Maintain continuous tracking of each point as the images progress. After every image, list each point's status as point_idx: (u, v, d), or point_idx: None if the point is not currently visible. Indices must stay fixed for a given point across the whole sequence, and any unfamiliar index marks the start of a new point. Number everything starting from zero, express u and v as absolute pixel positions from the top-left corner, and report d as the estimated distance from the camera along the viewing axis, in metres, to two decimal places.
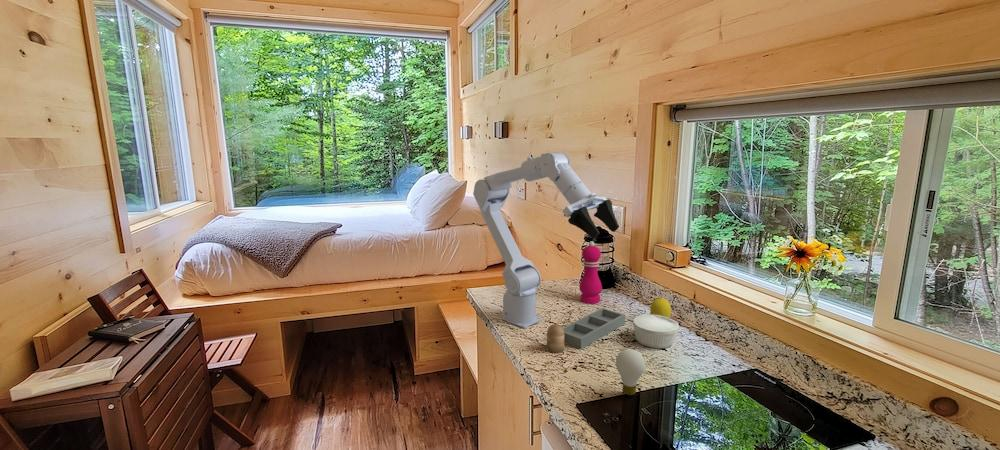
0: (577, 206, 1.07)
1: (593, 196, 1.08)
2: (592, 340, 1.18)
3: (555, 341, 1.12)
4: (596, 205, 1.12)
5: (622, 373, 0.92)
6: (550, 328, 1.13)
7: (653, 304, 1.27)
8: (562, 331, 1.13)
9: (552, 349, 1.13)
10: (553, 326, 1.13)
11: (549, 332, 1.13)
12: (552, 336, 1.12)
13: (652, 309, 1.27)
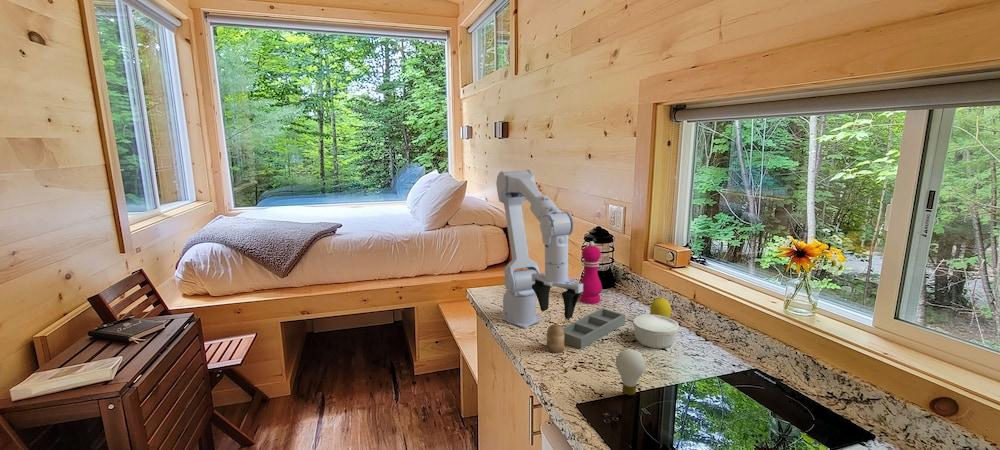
0: None
1: None
2: (592, 340, 1.18)
3: (555, 341, 1.12)
4: (565, 287, 1.09)
5: (622, 373, 0.92)
6: (550, 328, 1.13)
7: (653, 304, 1.27)
8: (562, 331, 1.13)
9: (552, 349, 1.13)
10: (553, 326, 1.13)
11: (549, 332, 1.13)
12: (552, 336, 1.12)
13: (652, 309, 1.27)
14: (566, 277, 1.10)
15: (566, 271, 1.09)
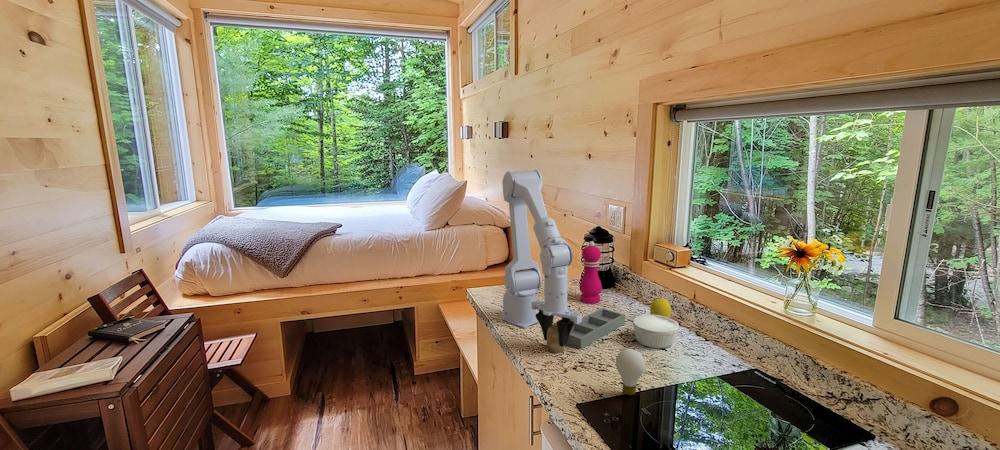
0: None
1: None
2: (592, 340, 1.18)
3: (555, 341, 1.12)
4: (564, 317, 1.11)
5: (622, 373, 0.92)
6: (550, 328, 1.13)
7: (653, 304, 1.27)
8: None
9: (552, 349, 1.13)
10: (553, 326, 1.13)
11: (549, 332, 1.13)
12: (552, 336, 1.12)
13: (652, 309, 1.27)
14: (565, 307, 1.11)
15: (565, 301, 1.11)
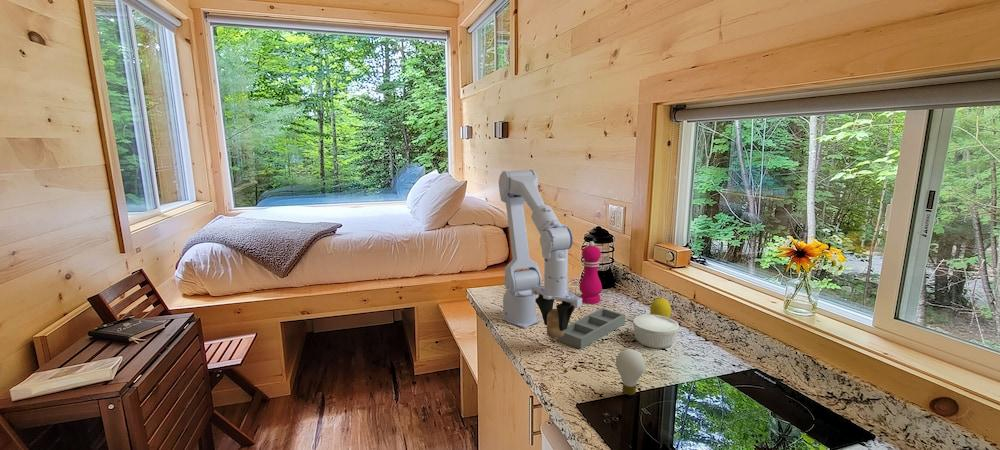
0: None
1: None
2: (592, 340, 1.18)
3: (555, 325, 1.12)
4: (564, 301, 1.10)
5: (622, 373, 0.92)
6: (550, 312, 1.13)
7: (653, 304, 1.27)
8: None
9: (552, 333, 1.12)
10: (553, 310, 1.13)
11: (549, 316, 1.12)
12: (552, 320, 1.12)
13: (652, 309, 1.27)
14: (565, 291, 1.10)
15: (565, 285, 1.10)
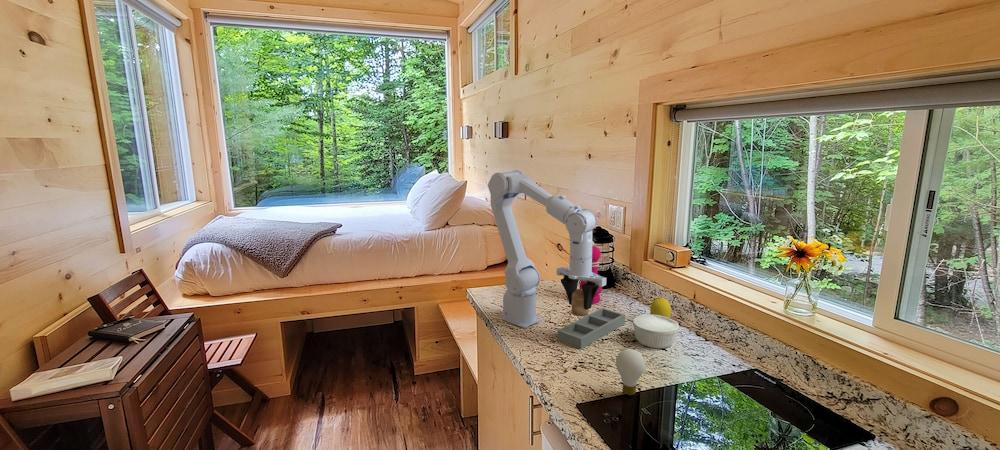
0: None
1: None
2: (592, 340, 1.18)
3: (580, 304, 1.17)
4: (589, 281, 1.16)
5: (622, 373, 0.92)
6: (575, 292, 1.18)
7: (653, 304, 1.27)
8: None
9: (577, 312, 1.18)
10: (578, 290, 1.18)
11: (574, 296, 1.18)
12: (577, 300, 1.17)
13: (652, 309, 1.27)
14: (590, 271, 1.16)
15: (590, 266, 1.16)
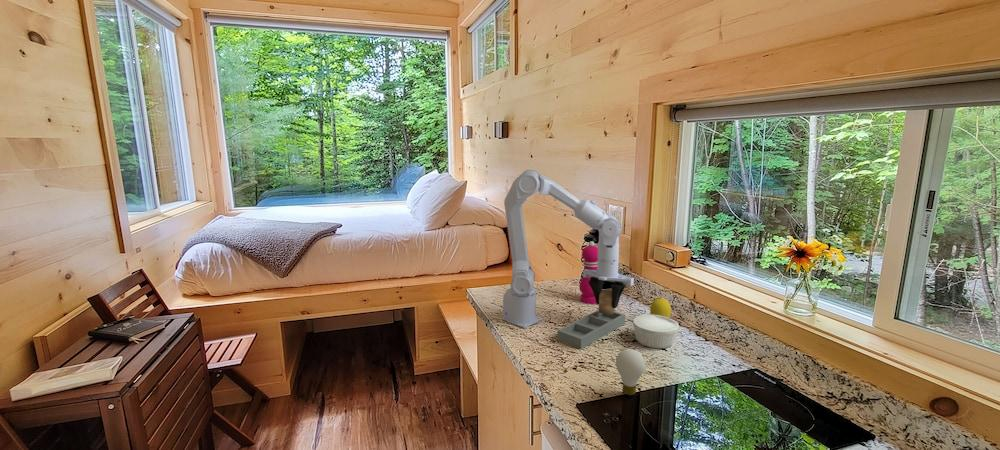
0: None
1: None
2: (592, 340, 1.18)
3: (608, 303, 1.26)
4: (617, 281, 1.25)
5: (622, 373, 0.92)
6: (603, 292, 1.27)
7: (653, 304, 1.27)
8: None
9: (605, 311, 1.26)
10: (605, 290, 1.27)
11: (602, 296, 1.26)
12: (606, 299, 1.26)
13: (652, 309, 1.27)
14: (617, 272, 1.25)
15: (617, 267, 1.25)
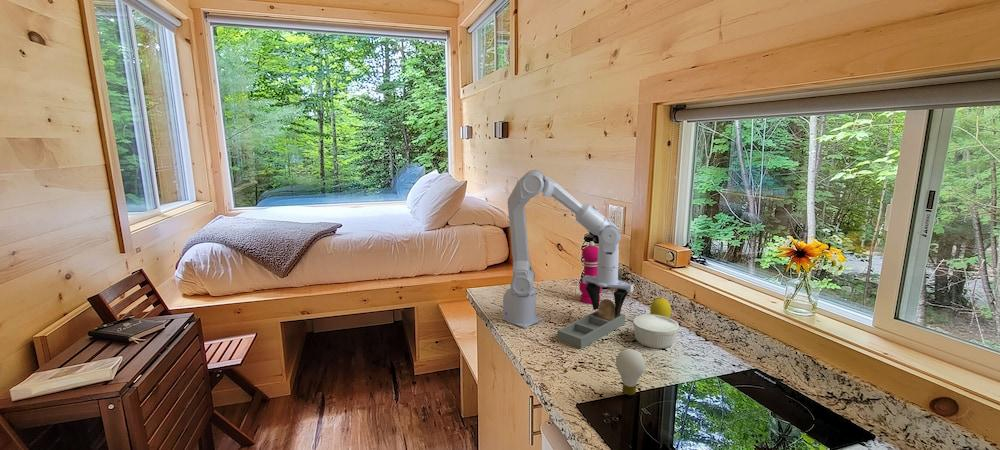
0: None
1: None
2: (592, 340, 1.18)
3: (608, 314, 1.26)
4: (617, 288, 1.25)
5: (622, 373, 0.92)
6: (603, 302, 1.27)
7: (653, 304, 1.27)
8: (613, 305, 1.27)
9: None
10: (605, 301, 1.27)
11: (602, 306, 1.27)
12: (605, 309, 1.26)
13: (652, 309, 1.27)
14: (617, 279, 1.25)
15: (617, 274, 1.25)
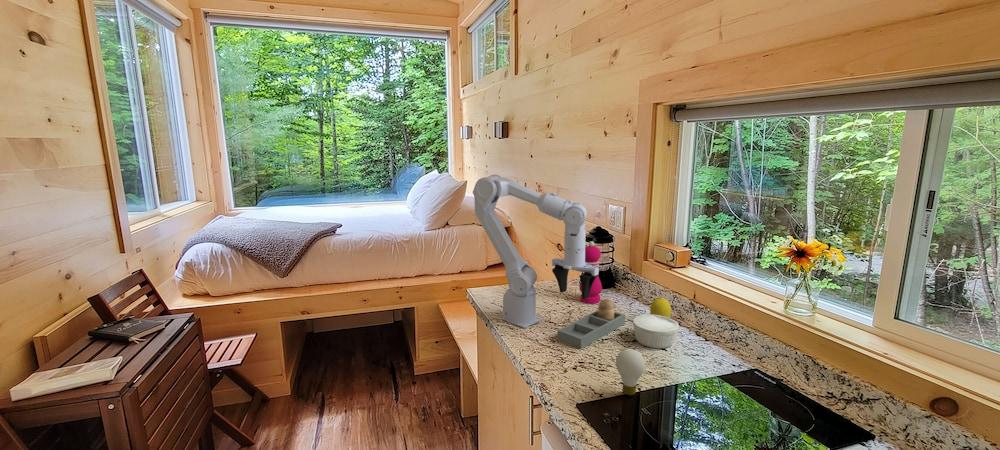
0: None
1: None
2: (592, 340, 1.18)
3: (608, 314, 1.26)
4: (582, 271, 1.23)
5: (622, 373, 0.92)
6: (602, 303, 1.27)
7: (653, 304, 1.27)
8: (613, 305, 1.27)
9: None
10: (605, 301, 1.27)
11: (602, 306, 1.27)
12: (605, 309, 1.26)
13: (652, 309, 1.27)
14: (583, 262, 1.23)
15: (583, 256, 1.23)
